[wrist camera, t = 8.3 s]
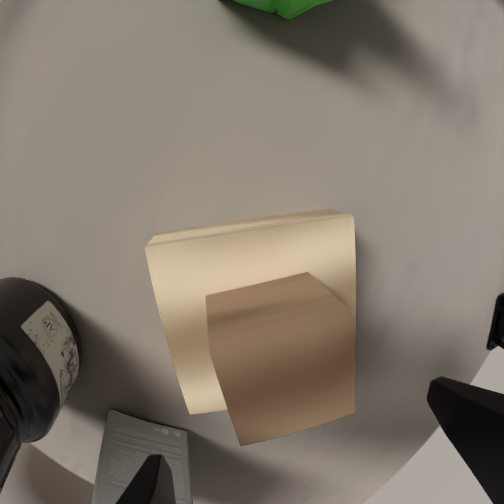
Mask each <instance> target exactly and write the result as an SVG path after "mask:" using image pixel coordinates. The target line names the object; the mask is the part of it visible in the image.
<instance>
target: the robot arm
mask: <svg viewBox="0 0 504 504" xmlns="http://www.w3.org/2000/svg"><path fill="white" fill-rule="evenodd" d="M497 346H500V347H501V348H503V349H504V293H502V294H500V295H499V296H498V298H497V303H496V309H495V314H494V319H493V324H492V329H491V333H490V337H489V342H488V346H487V349H488V350H490V351H491V350H492V349H494V348H496V347H497ZM427 402H428V404H429V406H430V408H431V410H432V411H433V413H434V415H435V417H436V418H437V420H438V422H439V424H440V426H441V428H442V429H443V431H444V433H445V434H446V436H447V437H448V438H449V440H450V441H451V443H452V444H453V445H454V447H455V448H456V450H457V451H458V453H459V454H460V455H461V457H462V458H463V460H464V461H465V462H466V464H467V465H468V467H469V468H470V470H471V471H472V473H473V474H474V476H475V477H476V478H477V480H478V481H479V483H480V484H481V486H482V487H483V489H484V490H485V492H486V493H487V495H488V496H489V498H490V500H491V501H492V503H493V504H504V394H501V393H497V392H494V391H490V390H486V389H483V388H479V387H476V386H472V385H469V384H466V383H462V382H459V381H455V380H452V379H449V378H446V377H442V376H441V377H438V378H436V379H434V380H432V381H431V382H430V386H429V390H428V394H427ZM116 504H176V500H175V492H174V484H173V476H172V471H171V468H170V466H169V465H168V463H167V461H166V459H165V458H164V456H163V455H162V454H151V455H149V456H148V457H147V458H146V460H145V461H144V463H143V464H142V466H141V467H140V469H139V470H138V472H137V473H136V474H135V476H134V477H133V479H132V480H131V482H130V483H129V485H128V486H127V488H126V489H125V491H124V492H123V493H122V495H121V496H120V498H119V499H118V501H117V502H116Z"/></svg>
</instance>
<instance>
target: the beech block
mask: <svg viewBox="0 0 504 504" xmlns="http://www.w3.org/2000/svg"><path fill="white" fill-rule="evenodd" d="M145 251H146V256H147V261H148V266H149V270H150V275H151V280H152V284H153V288H154V293H155V297H156V301H157V305H158V309H159V313H160V317H161V321H162V325H163V329H164V333H165V336H166V340H167V344H168V347H169V351H170V354H171V358H172V361H173V364H174V368H175V371H176V374H177V377H178V381H179V384H180V387H181V390H182V393H183V396H184V399H185V402H186V405H187V408H188V411H189V414H190V415H191V414H199V413H207V412H214V411H221V410H227V406H226V403H225V400H224V397H223V394H222V391H221V388H220V385H219V381H218V378H217V375H216V372H215V369H214V366H213V362H212V359H211V356H210V353H209V341H208V327H207V312H206V295H210V294H215V293H219V292H224V291H228V290H233V289H237V288H241V287H246V286H250V285H254V284H259V283H263V282H267V281H271V280H276V279H280V278H284V277H288V276H292V275H296V274H300V273H305V272H308V273H310V274H311V275H312V276H313V277H314V278H315V279H316V280H317V281H318V282H320V283H321V284H322V285H323V286H324V287H325V288H326V289H327V290H328V291H330V292H331V293H332V294H333V295H334V296H335V297H336V298H337V299H338V300H339V301H341V302H342V303H343V304H344V305H345V306H346V307H347V308H348V309H349V310H350V311H351V312H353V313H354V317H355V331H356V255H355V230H354V216H351V215H348V214H344V213H340V212H336V211H333V210H329V209H320V210H312V211H305V212H297V213H289V214H282V215H275V216H267V217H260V218H253V219H246V220H239V221H233V222H226V223H219V224H213V225H206V226H200V227H193V228H187V229H181V230H175V231H169V232H163V233H157V234H155V235H154V237H153V238H152V239H151V240H150V242H149V243H148V244H147V245H146V247H145Z"/></svg>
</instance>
